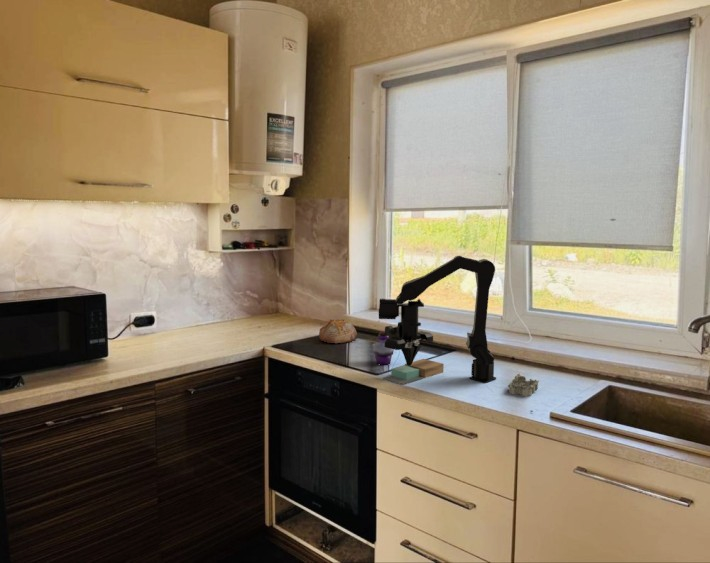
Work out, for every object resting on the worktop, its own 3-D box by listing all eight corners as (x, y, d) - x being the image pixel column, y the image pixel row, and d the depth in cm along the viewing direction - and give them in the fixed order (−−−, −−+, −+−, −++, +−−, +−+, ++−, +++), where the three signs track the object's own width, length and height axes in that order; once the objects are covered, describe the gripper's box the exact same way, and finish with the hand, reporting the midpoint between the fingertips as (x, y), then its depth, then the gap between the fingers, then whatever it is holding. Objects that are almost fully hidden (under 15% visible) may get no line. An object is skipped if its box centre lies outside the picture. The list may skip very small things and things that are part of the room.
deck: (443, 372, 190) (443, 363, 190) (424, 378, 183) (425, 369, 183) (423, 366, 196) (423, 358, 196) (404, 372, 190) (404, 363, 189)
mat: (423, 378, 182) (423, 377, 182) (403, 384, 176) (403, 383, 176) (402, 372, 189) (402, 371, 189) (382, 378, 182) (382, 377, 182)
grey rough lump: (518, 385, 177) (518, 372, 176) (541, 389, 172) (541, 376, 172) (505, 393, 168) (505, 380, 168) (529, 398, 164) (529, 385, 163)
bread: (315, 346, 231) (313, 323, 230) (325, 336, 251) (323, 315, 250) (353, 345, 229) (351, 322, 228) (360, 335, 248) (359, 313, 247)
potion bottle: (398, 362, 203) (398, 330, 202) (390, 367, 195) (390, 334, 194) (377, 359, 207) (377, 328, 205) (367, 365, 199) (368, 332, 198)
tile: (418, 376, 183) (419, 369, 183) (406, 380, 179) (406, 373, 179) (403, 372, 189) (403, 365, 188) (391, 375, 185) (391, 368, 184)
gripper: (409, 313, 194) (409, 356, 196) (372, 319, 181) (372, 365, 183) (434, 317, 186) (433, 362, 188) (397, 324, 173) (397, 372, 175)
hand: (409, 365), depth 184 cm, fingers closed
